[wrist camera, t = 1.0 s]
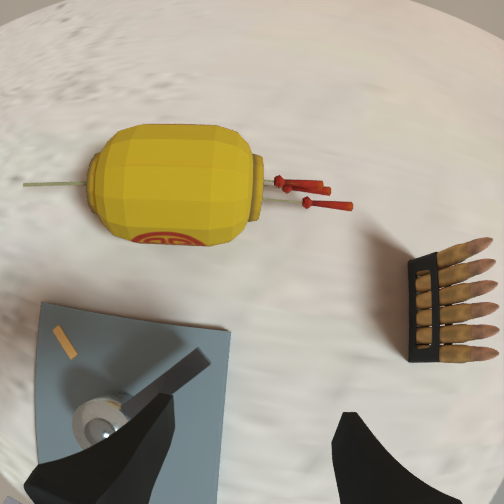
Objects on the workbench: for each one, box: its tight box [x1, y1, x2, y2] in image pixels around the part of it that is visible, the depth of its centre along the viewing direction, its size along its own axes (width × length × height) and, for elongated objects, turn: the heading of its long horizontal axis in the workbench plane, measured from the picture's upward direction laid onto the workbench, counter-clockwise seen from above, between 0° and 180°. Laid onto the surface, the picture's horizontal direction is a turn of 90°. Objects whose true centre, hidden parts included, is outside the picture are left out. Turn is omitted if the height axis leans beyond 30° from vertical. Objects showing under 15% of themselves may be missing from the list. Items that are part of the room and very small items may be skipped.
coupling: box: [72, 347, 211, 450], centre depth 21 cm, size 12×5×5 cm, turn 130°
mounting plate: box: [35, 302, 231, 504], centre depth 24 cm, size 18×18×1 cm
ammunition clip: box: [408, 237, 500, 363], centre depth 24 cm, size 11×2×12 cm, turn 177°
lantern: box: [23, 124, 353, 246], centre depth 25 cm, size 10×10×30 cm
